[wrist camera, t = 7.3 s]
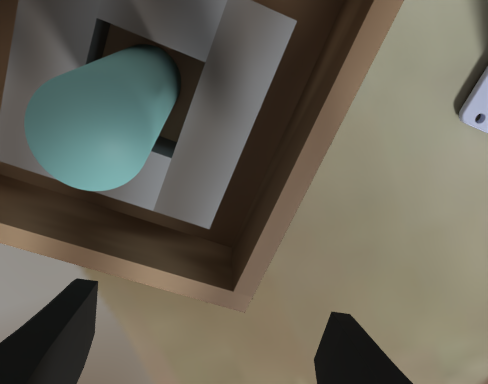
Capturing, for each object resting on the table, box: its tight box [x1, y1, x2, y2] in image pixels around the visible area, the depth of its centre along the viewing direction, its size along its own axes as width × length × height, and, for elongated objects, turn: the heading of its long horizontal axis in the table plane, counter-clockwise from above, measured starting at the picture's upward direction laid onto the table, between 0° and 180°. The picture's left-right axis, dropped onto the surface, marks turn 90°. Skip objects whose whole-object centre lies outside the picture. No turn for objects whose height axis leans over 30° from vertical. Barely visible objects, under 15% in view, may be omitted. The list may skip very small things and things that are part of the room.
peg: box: [24, 44, 181, 191], centre depth 15 cm, size 3×3×9 cm
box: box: [0, 0, 404, 313], centre depth 17 cm, size 16×16×4 cm
